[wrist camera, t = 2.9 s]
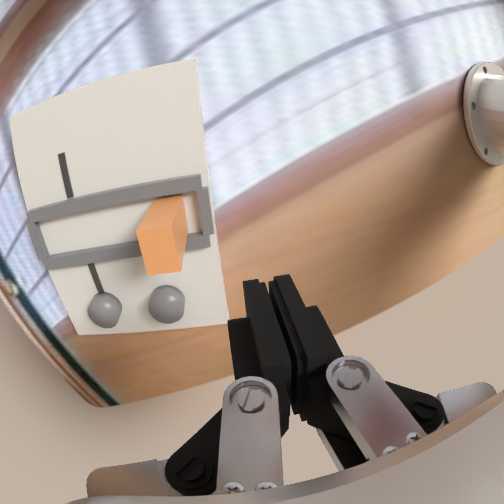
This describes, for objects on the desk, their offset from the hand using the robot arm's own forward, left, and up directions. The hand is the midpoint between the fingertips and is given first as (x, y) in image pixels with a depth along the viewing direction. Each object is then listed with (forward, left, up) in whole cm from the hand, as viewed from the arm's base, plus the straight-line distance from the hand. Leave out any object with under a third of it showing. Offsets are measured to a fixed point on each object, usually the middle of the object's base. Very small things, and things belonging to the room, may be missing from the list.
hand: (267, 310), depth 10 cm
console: (+10, 0, -14) cm, 17 cm away
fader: (+5, 0, -12) cm, 13 cm away
